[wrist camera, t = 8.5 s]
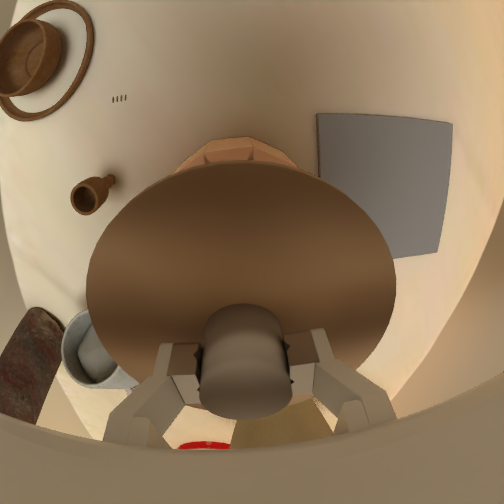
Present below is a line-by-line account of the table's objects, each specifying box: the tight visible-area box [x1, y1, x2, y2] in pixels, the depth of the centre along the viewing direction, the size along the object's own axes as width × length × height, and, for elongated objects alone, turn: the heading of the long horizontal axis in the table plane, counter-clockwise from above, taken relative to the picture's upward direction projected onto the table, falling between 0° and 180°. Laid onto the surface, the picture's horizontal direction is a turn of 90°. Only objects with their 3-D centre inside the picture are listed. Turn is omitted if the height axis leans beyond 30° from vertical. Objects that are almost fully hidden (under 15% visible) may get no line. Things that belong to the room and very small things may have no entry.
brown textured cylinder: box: [0, 308, 64, 425], centre depth 21 cm, size 8×7×20 cm
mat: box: [317, 114, 453, 259], centre depth 24 cm, size 14×14×1 cm
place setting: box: [0, 0, 126, 215], centre depth 16 cm, size 18×20×6 cm
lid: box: [86, 160, 396, 420], centre depth 11 cm, size 13×13×5 cm
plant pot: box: [229, 398, 333, 449], centre depth 30 cm, size 15×15×16 cm
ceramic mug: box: [61, 309, 140, 389], centre depth 25 cm, size 11×8×8 cm
